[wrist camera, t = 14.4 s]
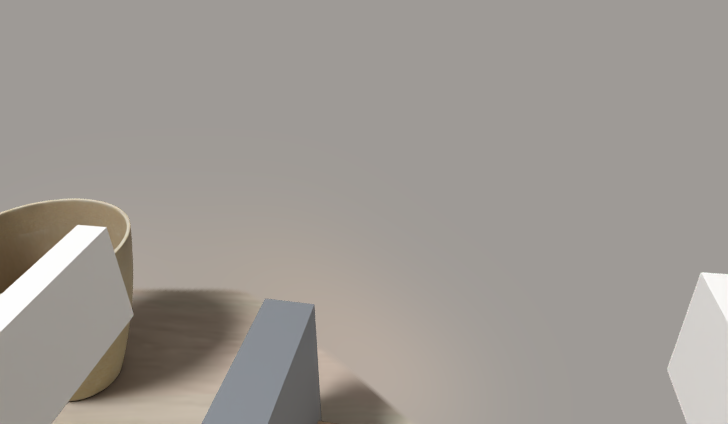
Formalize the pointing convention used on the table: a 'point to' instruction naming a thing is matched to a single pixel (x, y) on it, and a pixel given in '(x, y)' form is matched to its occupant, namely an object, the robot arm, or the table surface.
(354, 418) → the table surface
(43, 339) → the robot arm
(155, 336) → the table surface
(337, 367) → the table surface
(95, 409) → the table surface
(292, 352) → the ticket block
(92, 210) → the plant pot
